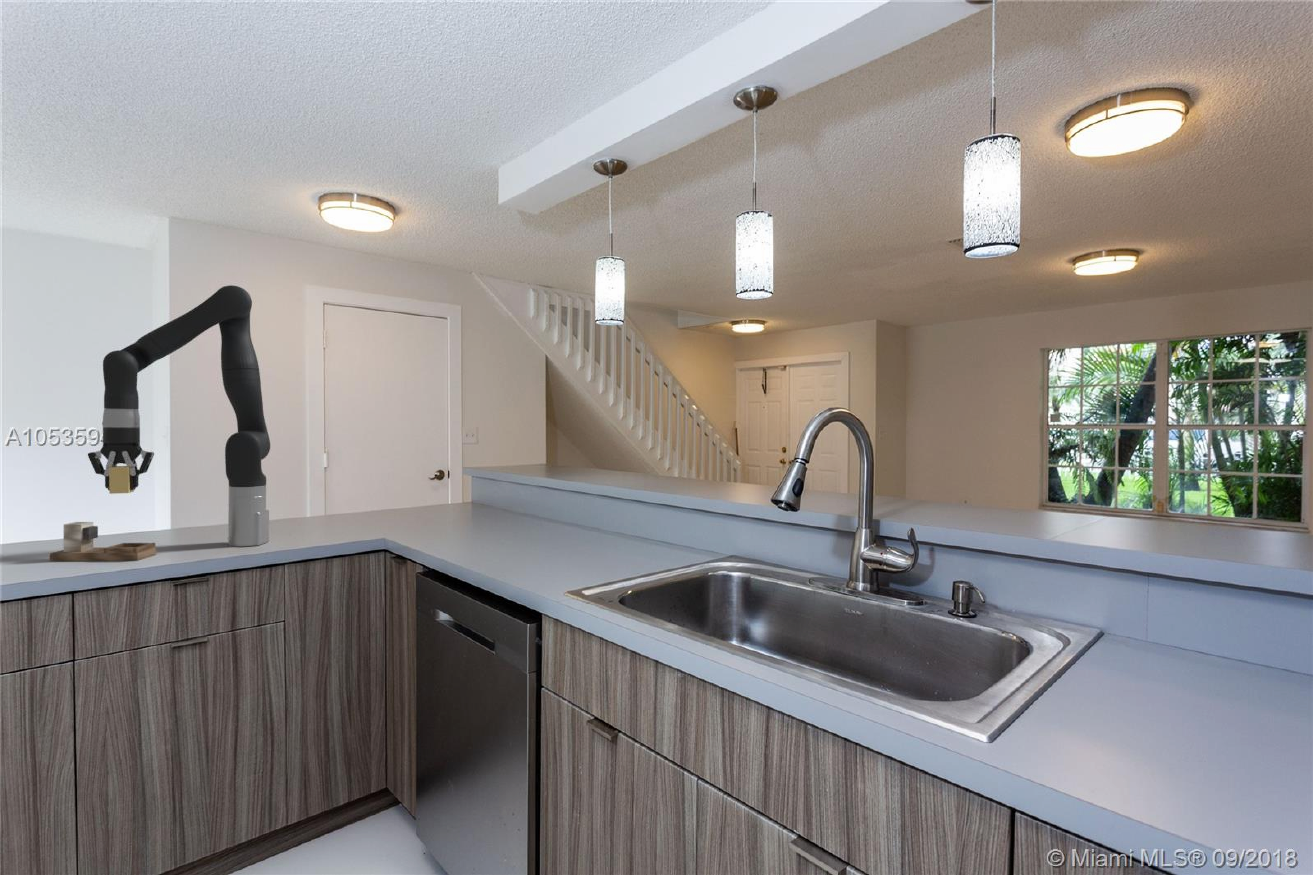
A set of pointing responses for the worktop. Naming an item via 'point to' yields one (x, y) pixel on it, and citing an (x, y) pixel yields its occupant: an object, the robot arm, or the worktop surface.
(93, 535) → the rail
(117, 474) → the yellow and grey box
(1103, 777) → the worktop surface
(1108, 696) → the worktop surface
